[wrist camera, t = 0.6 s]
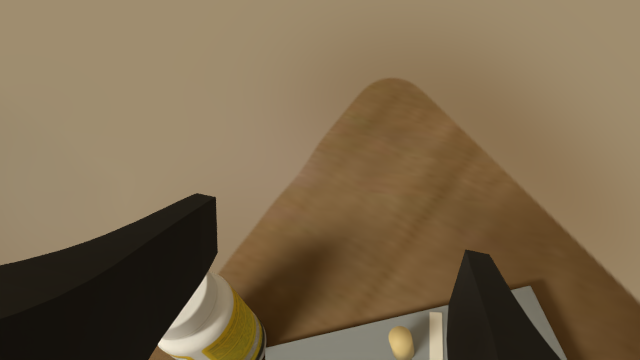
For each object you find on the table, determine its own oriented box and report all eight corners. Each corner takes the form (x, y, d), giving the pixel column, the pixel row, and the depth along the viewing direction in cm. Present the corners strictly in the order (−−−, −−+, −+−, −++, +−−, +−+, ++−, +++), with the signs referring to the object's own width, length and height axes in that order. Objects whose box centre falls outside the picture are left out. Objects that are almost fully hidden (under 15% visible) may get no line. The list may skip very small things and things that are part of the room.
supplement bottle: (264, 304, 31) (215, 239, 24) (271, 376, 27) (217, 323, 21) (197, 323, 31) (130, 263, 24) (197, 395, 28) (121, 349, 21)
